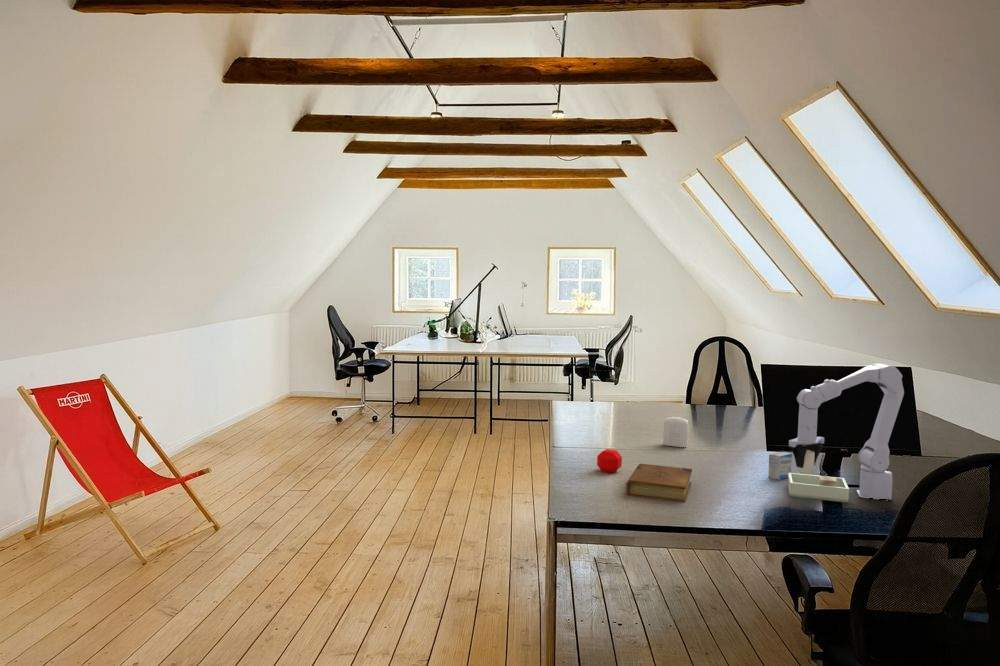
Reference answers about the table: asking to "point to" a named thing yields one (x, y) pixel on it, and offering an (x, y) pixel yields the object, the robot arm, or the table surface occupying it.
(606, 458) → the ball
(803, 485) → the tote
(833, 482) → the oak cube
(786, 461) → the medicine box
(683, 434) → the white rounded block
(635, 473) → the diary
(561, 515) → the table surface
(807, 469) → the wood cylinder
